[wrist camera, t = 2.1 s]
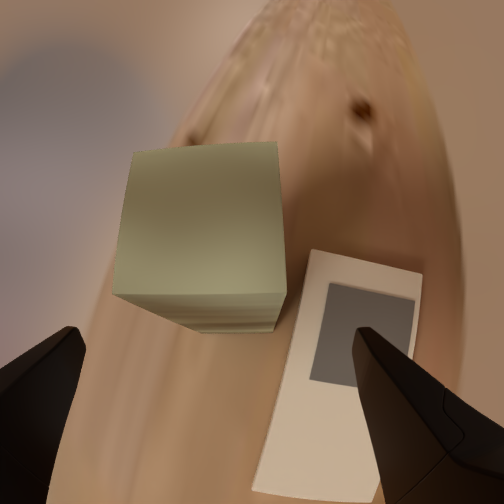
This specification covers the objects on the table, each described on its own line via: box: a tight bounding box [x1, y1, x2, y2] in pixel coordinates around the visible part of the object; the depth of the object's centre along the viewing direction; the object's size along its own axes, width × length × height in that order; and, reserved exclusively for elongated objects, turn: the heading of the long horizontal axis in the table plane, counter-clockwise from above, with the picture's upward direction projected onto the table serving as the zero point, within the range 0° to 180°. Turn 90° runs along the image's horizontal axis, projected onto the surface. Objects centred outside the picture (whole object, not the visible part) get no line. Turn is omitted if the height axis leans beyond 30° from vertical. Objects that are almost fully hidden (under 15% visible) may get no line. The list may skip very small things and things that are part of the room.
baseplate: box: [252, 249, 423, 502], centre depth 17 cm, size 16×8×1 cm, turn 166°
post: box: [112, 142, 287, 333], centre depth 14 cm, size 4×4×12 cm
